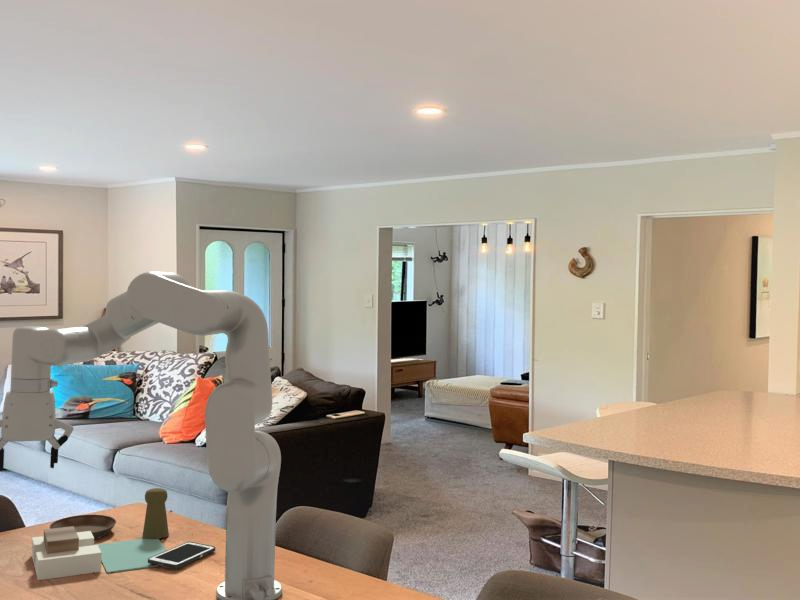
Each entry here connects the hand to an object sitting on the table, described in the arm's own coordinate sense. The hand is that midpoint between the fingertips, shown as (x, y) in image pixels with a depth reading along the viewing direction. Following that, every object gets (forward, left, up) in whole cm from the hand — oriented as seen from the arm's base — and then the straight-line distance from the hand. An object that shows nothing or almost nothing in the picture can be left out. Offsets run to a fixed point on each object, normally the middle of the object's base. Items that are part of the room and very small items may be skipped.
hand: (26, 467), depth 168 cm
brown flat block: (-1, -7, -17) cm, 18 cm away
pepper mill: (+10, -29, -21) cm, 37 cm away
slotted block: (-1, -8, -21) cm, 22 cm away
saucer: (+19, -14, -21) cm, 32 cm away
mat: (-1, -22, -21) cm, 30 cm away
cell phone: (-8, -31, -21) cm, 38 cm away
